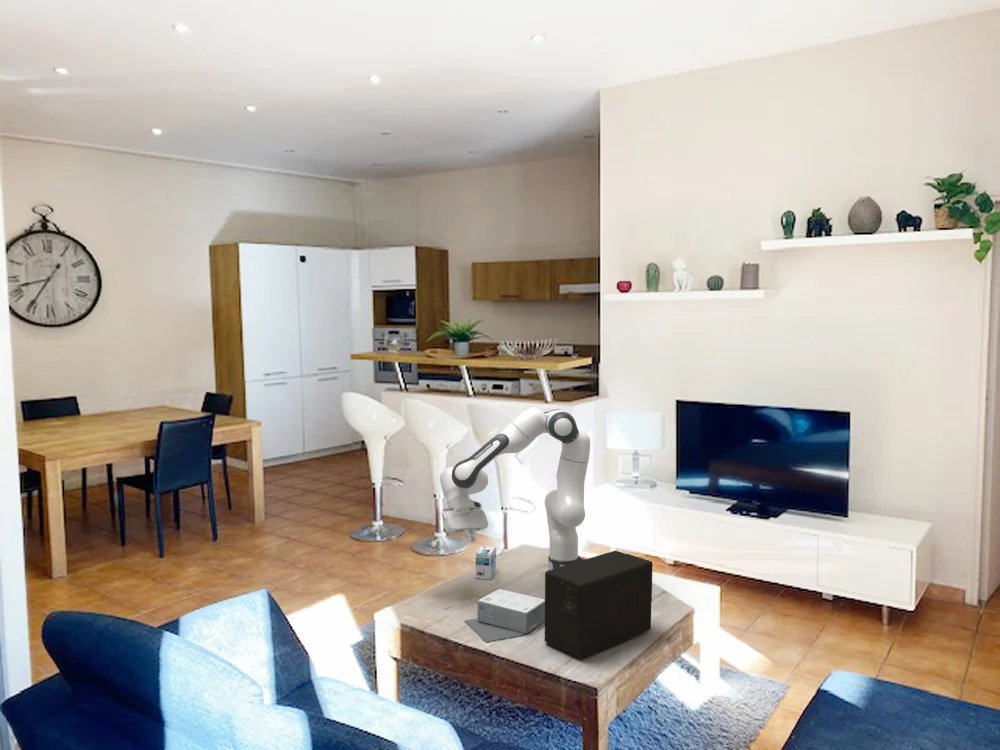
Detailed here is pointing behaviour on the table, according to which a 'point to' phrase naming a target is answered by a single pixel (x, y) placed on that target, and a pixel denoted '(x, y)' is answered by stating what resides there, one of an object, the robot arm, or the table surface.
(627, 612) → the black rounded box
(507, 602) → the hard drive box
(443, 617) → the table surface
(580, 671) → the table surface
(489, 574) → the light bulb box
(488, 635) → the mat
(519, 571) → the table surface
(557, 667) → the table surface
